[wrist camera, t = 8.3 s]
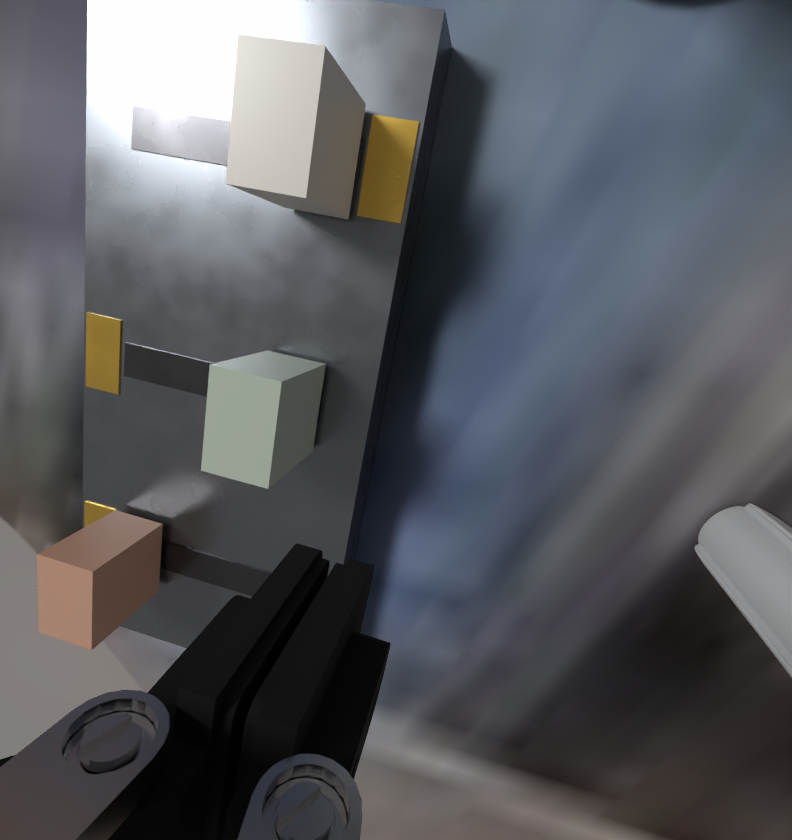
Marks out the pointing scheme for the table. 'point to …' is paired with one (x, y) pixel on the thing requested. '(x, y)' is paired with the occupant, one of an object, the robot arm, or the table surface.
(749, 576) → the photo printer
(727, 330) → the table surface
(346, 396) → the grey slotted slider board
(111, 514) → the slider terracotta
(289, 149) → the slider ivory
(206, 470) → the slider sage
